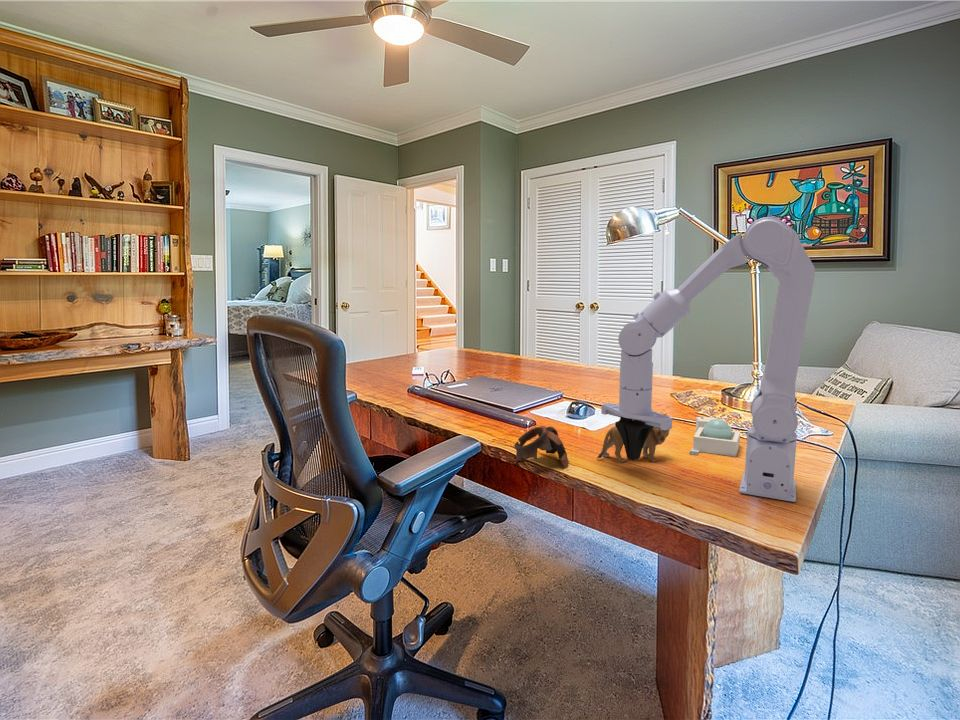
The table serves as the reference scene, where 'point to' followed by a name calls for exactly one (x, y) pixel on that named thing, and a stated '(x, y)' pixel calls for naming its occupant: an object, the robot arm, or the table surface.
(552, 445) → the brown twisted loop
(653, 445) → the lion figurine
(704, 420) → the die
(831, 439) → the table surface
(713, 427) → the dome plunger
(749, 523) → the table surface
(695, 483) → the table surface
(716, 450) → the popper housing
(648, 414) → the robot arm
